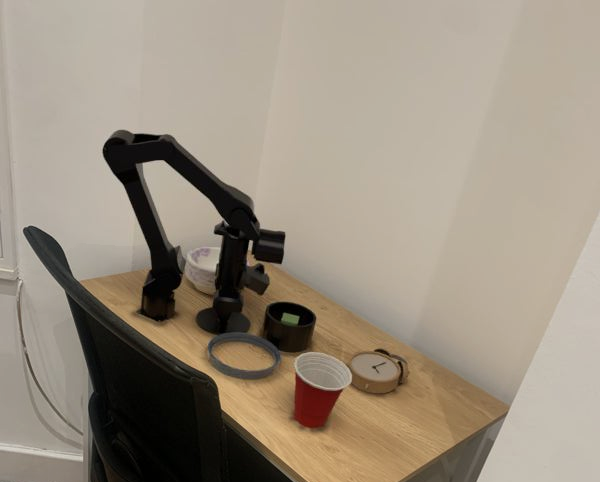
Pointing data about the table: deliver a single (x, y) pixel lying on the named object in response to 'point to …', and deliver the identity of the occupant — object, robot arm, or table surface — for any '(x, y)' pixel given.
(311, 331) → the tin
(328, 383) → the plastic cup
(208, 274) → the paper bowls
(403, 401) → the table surface
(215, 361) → the blue-grey round rimmed part
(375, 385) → the alarm clock
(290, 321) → the green block
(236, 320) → the tin lid
